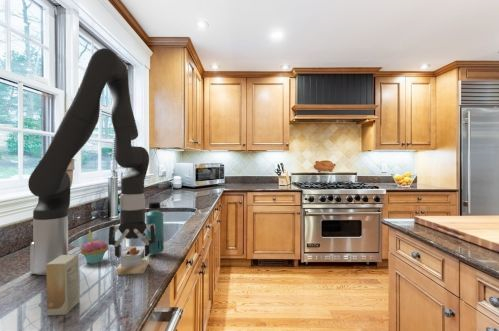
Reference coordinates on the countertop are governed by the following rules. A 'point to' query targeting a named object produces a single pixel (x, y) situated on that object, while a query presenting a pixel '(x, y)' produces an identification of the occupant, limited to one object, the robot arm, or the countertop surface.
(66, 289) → the skincare box
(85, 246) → the cupcake
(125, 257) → the link
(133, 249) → the keeper
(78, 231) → the countertop surface
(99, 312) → the countertop surface
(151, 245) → the beverage bottle
